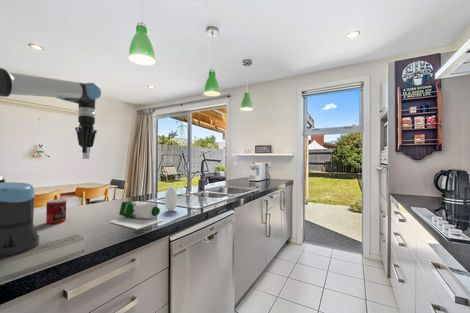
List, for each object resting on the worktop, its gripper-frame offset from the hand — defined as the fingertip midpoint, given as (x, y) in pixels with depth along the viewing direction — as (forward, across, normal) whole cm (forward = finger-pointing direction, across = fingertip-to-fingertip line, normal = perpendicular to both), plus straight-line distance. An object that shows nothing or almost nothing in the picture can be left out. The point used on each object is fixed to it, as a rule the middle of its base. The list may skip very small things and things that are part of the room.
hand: (85, 158), depth 116 cm
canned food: (+33, -9, +8) cm, 35 cm away
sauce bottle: (+33, +20, -41) cm, 56 cm away
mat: (+32, -5, -32) cm, 46 cm away
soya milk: (+28, +4, -21) cm, 35 cm away
